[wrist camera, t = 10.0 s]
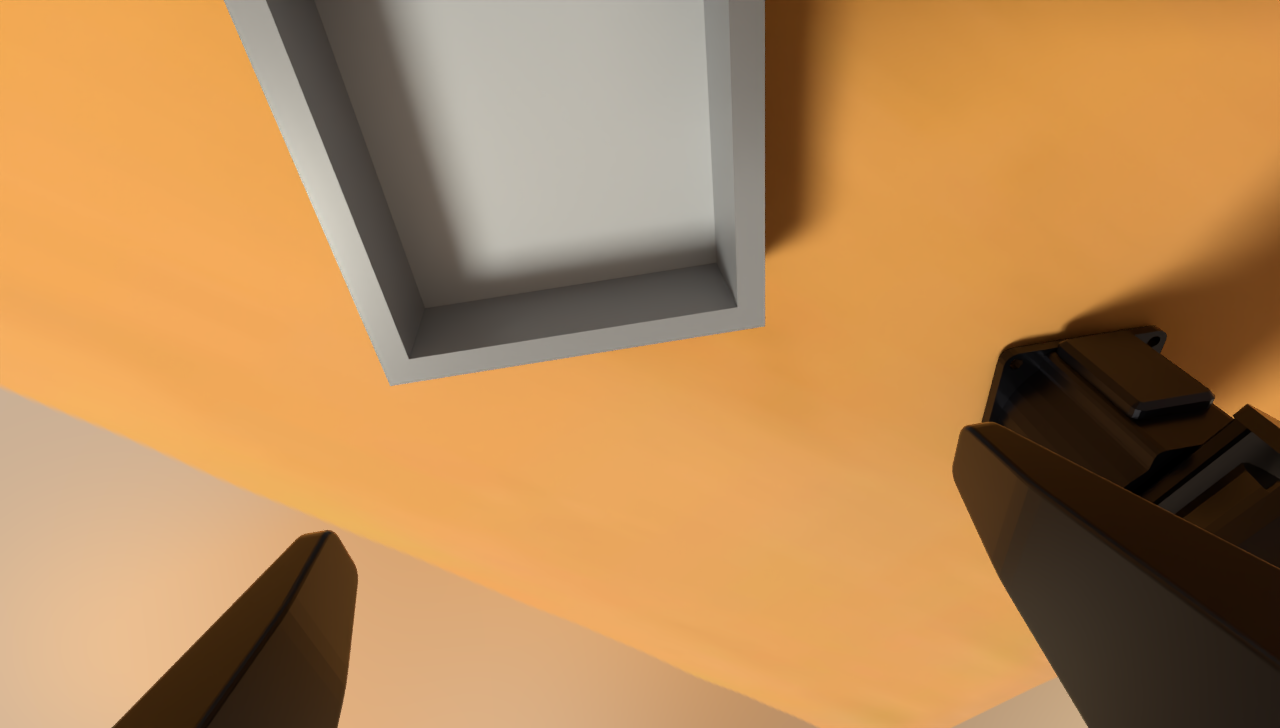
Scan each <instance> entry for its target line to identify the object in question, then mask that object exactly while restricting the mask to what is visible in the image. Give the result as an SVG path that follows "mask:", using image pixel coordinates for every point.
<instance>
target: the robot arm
mask: <svg viewBox="0 0 1280 728" xmlns="http://www.w3.org/2000/svg"><path fill="white" fill-rule="evenodd" d="M1166 337H1167V335H1166V333H1165V332H1164V331H1162V330H1161V329H1159V328H1158V327H1156V326H1145V327H1139V328H1133V329H1126V330H1120V331H1114V332H1108V333H1102V334H1096V335H1089V336H1083V337H1077V338H1071V339H1065V340H1059V341H1052V342H1046V343H1040V344H1034V345H1028V346H1022V347H1015V348H1011V349H1008V350H1006V351H1005V352H1003V353H1002V354H1001V356H1000V357H999V359H998V362H997V366H996V369H995V373H994V377H993V381H992V385H991V389H990V392H989V396H988V400H987V404H986V408H985V412H984V416H983V419H982V423H978V424H972V425H967V426H965V427H964V428H963V429H962V430H961V432H960V435H959V439H958V444H957V448H956V453H955V457H954V461H953V467H952V472H953V478H954V481H955V484H956V486H957V488H958V490H959V493H960V495H961V497H962V499H963V501H964V503H965V506H966V508H967V510H968V512H969V514H970V516H971V519H972V521H973V523H974V525H975V527H976V530H977V532H978V534H979V536H980V538H981V540H982V543H983V545H984V547H985V549H986V551H987V554H988V556H989V558H990V560H991V562H992V564H993V566H994V568H995V570H996V572H997V574H998V576H999V578H1000V580H1001V582H1002V583H1003V585H1004V587H1005V589H1006V591H1007V592H1008V594H1009V596H1010V597H1011V599H1012V601H1013V602H1014V604H1015V606H1016V607H1017V609H1018V611H1019V612H1020V614H1021V616H1022V617H1023V619H1024V621H1025V622H1026V624H1027V626H1028V627H1029V629H1030V631H1031V633H1032V634H1033V636H1034V638H1035V639H1036V641H1037V643H1038V644H1039V646H1040V648H1041V649H1042V651H1043V653H1044V654H1045V656H1046V658H1047V659H1048V661H1049V663H1050V664H1051V666H1052V668H1053V669H1054V671H1055V673H1056V674H1057V676H1058V678H1059V679H1060V681H1061V683H1062V684H1063V686H1064V688H1065V689H1066V691H1067V693H1068V694H1069V696H1070V698H1071V699H1072V701H1073V703H1074V704H1075V706H1076V708H1077V709H1078V711H1079V713H1080V714H1081V716H1082V718H1083V720H1084V721H1085V723H1086V724H1087V726H1088V728H1280V421H1279V420H1277V419H1275V418H1273V417H1271V416H1270V415H1268V414H1266V413H1264V412H1262V411H1260V410H1258V409H1257V408H1255V407H1253V406H1251V405H1249V404H1246V405H1245V406H1244V407H1243V408H1241V409H1240V410H1239V411H1238V412H1236V413H1235V414H1234V415H1233V417H1234V419H1233V418H1232V417H1230V416H1229V415H1228V414H1226V413H1225V412H1224V411H1222V410H1221V409H1220V408H1218V407H1217V406H1215V405H1214V404H1213V401H1214V399H1215V395H1214V394H1213V393H1212V392H1211V391H1210V390H1209V389H1208V388H1207V387H1205V386H1204V385H1203V384H1201V383H1200V382H1198V381H1197V380H1196V379H1194V378H1193V377H1191V376H1190V375H1189V374H1187V373H1186V372H1185V371H1183V370H1182V369H1180V368H1179V367H1178V366H1176V365H1175V364H1173V363H1172V362H1171V361H1169V360H1168V359H1167V358H1165V357H1164V356H1162V355H1161V354H1160V352H1161V350H1162V348H1163V345H1164V343H1165V341H1166ZM1014 360H1015V361H1014ZM1012 361H1013V362H1012ZM1011 362H1012V363H1011ZM357 585H358V574H357V569H356V566H355V564H354V562H353V560H352V559H351V557H350V555H349V554H348V552H347V550H346V549H345V547H344V545H343V544H342V542H341V540H340V539H339V537H338V536H337V534H336V533H335V532H333V531H331V530H325V531H320V532H313V533H307V534H304V535H301V536H300V537H299V538H297V539H296V540H295V542H293V543H292V544H291V545H290V546H289V547H288V548H287V549H286V551H285V552H284V553H282V555H281V556H280V557H279V558H278V559H277V560H276V561H275V562H274V563H273V564H272V565H271V566H270V567H269V568H268V569H267V570H266V571H265V572H264V573H263V574H262V575H261V576H260V577H259V578H258V579H257V580H256V581H255V582H254V583H253V584H252V585H251V586H250V587H249V588H248V589H247V590H246V591H245V592H244V593H243V594H242V595H241V596H240V597H239V598H238V599H237V600H236V601H235V602H234V603H233V605H232V606H231V607H230V608H229V609H228V610H227V611H226V612H225V613H224V614H223V615H222V616H221V617H220V618H219V619H218V620H217V621H216V622H215V623H214V624H213V625H212V626H211V627H210V628H209V629H208V630H207V631H206V632H205V633H204V634H203V635H202V636H201V637H200V638H199V639H198V640H197V641H196V642H195V643H194V644H193V645H192V646H191V647H190V648H189V650H188V651H187V652H185V653H184V655H183V656H182V657H181V658H180V659H179V660H178V661H177V662H176V663H175V664H174V665H173V666H172V667H171V668H170V669H169V670H168V671H167V672H166V673H165V674H164V675H163V676H162V677H161V678H160V679H159V680H158V681H157V682H156V683H155V684H154V685H153V686H152V687H151V688H150V689H149V690H148V691H147V692H146V693H145V694H144V695H143V696H142V697H141V698H140V700H138V702H137V703H136V704H135V705H134V706H133V707H132V708H131V709H130V710H129V711H128V712H127V713H126V714H125V715H124V716H123V717H122V718H121V719H120V720H119V721H118V722H117V723H116V724H115V725H114V726H113V727H112V728H337V727H338V722H339V718H340V713H341V709H342V704H343V699H344V694H345V689H346V683H347V675H348V668H349V659H350V650H351V640H352V631H353V622H354V612H355V603H356V594H357Z"/></svg>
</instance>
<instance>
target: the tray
mask: <svg viewBox="0 0 1280 728" xmlns="http://www.w3.org/2000/svg"><path fill="white" fill-rule="evenodd" d="M224 2H225V4H226V7H227V9H228V11H229V13H230V16H231V18H232V20H233V23H234V25H235V27H236V30H237V32H238V34H239V37H240V39H241V41H242V44H243V46H244V48H245V51H246V53H247V55H248V57H249V60H250V62H251V64H252V67H253V69H254V71H255V74H256V76H257V78H258V81H259V83H260V85H261V88H262V90H263V92H264V95H265V97H266V99H267V101H268V104H269V106H270V108H271V111H272V113H273V115H274V118H275V120H276V122H277V125H278V127H279V129H280V132H281V134H282V136H283V139H284V141H285V143H286V145H287V148H288V150H289V152H290V155H291V157H292V159H293V162H294V164H295V166H296V169H297V171H298V173H299V176H300V178H301V180H302V183H303V185H304V187H305V189H306V192H307V194H308V196H309V199H310V201H311V203H312V206H313V208H314V210H315V213H316V215H317V217H318V220H319V222H320V224H321V227H322V229H323V231H324V233H325V236H326V238H327V240H328V243H329V245H330V247H331V250H332V252H333V254H334V257H335V259H336V261H337V264H338V266H339V268H340V271H341V273H342V275H343V277H344V280H345V282H346V284H347V287H348V289H349V291H350V294H351V296H352V298H353V301H354V303H355V305H356V308H357V310H358V312H359V315H360V317H361V319H362V321H363V324H364V326H365V328H366V331H367V333H368V335H369V338H370V340H371V342H372V345H373V347H374V349H375V352H376V354H377V356H378V359H379V361H380V363H381V365H382V368H383V370H384V372H385V375H386V377H387V379H388V382H389V384H390V386H393V385H399V384H406V383H412V382H418V381H425V380H431V379H437V378H443V377H450V376H456V375H462V374H468V373H475V372H481V371H487V370H494V369H500V368H506V367H512V366H519V365H525V364H531V363H537V362H544V361H550V360H556V359H562V358H569V357H575V356H581V355H588V354H594V353H600V352H606V351H613V350H619V349H625V348H631V347H638V346H644V345H650V344H657V343H663V342H669V341H675V340H682V339H688V338H694V337H700V336H707V335H713V334H719V333H725V332H732V331H738V330H744V329H751V328H757V327H763V326H765V0H224Z"/></svg>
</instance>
